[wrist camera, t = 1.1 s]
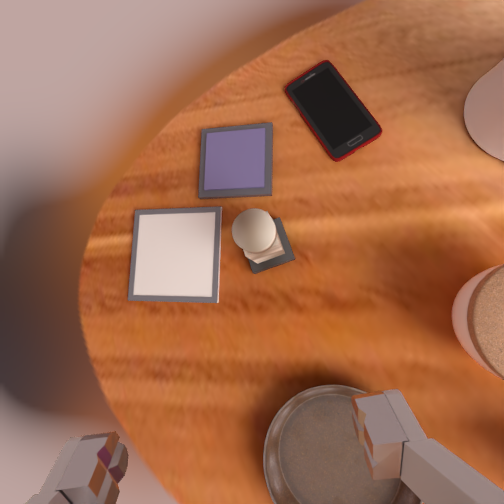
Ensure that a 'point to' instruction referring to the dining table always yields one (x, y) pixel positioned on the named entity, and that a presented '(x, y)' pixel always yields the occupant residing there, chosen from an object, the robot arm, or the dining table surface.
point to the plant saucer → (323, 454)
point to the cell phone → (332, 111)
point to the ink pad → (236, 161)
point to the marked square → (176, 255)
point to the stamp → (261, 239)
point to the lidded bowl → (482, 319)
